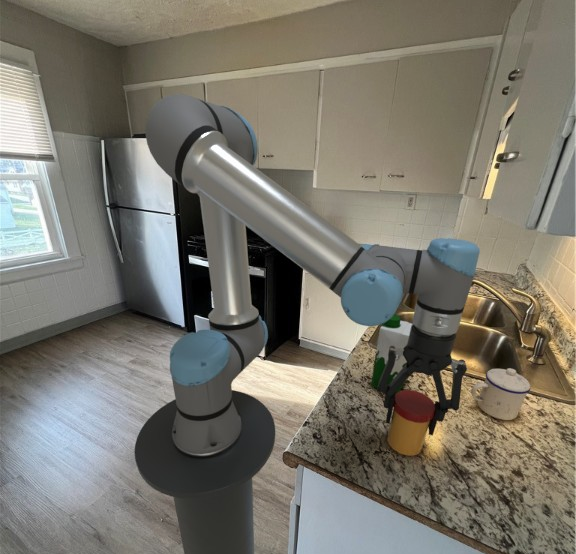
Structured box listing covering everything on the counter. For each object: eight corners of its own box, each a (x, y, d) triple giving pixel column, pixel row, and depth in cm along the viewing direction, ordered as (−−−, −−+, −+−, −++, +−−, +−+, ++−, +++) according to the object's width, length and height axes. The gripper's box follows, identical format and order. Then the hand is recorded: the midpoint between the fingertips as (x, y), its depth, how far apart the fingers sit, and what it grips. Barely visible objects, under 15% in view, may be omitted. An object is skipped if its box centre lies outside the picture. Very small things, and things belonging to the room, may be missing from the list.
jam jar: (385, 449, 66) (394, 410, 62) (388, 426, 72) (396, 389, 68) (422, 460, 64) (434, 420, 59) (421, 435, 70) (432, 397, 65)
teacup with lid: (504, 397, 83) (519, 360, 78) (526, 422, 75) (545, 382, 70) (458, 395, 83) (470, 358, 78) (475, 419, 75) (489, 379, 70)
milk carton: (376, 371, 92) (388, 309, 83) (408, 382, 88) (423, 317, 79) (367, 386, 85) (378, 320, 77) (400, 399, 81) (416, 330, 72)
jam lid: (391, 416, 62) (393, 409, 61) (394, 393, 69) (395, 386, 68) (434, 427, 59) (436, 420, 59) (432, 402, 66) (434, 395, 65)
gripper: (372, 326, 56) (356, 423, 66) (504, 350, 50) (465, 453, 59) (377, 310, 62) (362, 401, 72) (494, 330, 56) (460, 426, 66)
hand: (408, 424), depth 66 cm, fingers closed on jam lid, 8 cm apart
